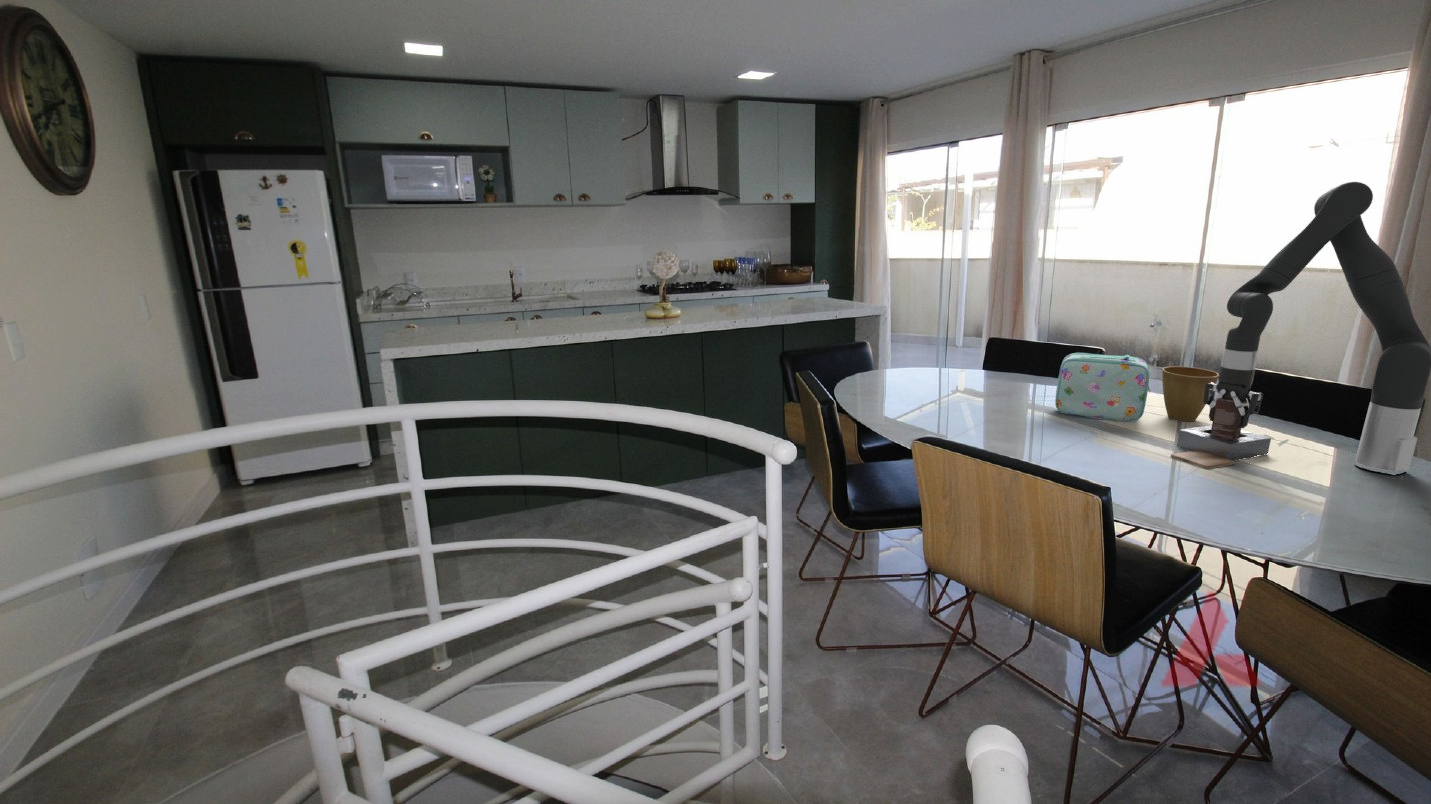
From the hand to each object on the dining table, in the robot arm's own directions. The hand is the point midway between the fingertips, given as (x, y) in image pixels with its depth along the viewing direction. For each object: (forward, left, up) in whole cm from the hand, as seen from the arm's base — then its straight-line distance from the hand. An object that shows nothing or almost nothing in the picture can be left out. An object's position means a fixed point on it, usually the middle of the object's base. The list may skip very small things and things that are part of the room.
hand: (1226, 424), depth 186 cm
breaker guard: (0, 0, -8) cm, 8 cm away
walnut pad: (-4, +13, -8) cm, 16 cm away
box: (0, 0, -5) cm, 5 cm away
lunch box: (+38, +3, -8) cm, 39 cm away
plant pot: (+26, -19, -8) cm, 33 cm away
